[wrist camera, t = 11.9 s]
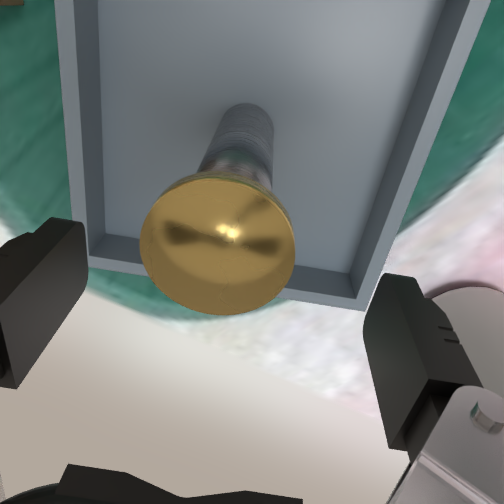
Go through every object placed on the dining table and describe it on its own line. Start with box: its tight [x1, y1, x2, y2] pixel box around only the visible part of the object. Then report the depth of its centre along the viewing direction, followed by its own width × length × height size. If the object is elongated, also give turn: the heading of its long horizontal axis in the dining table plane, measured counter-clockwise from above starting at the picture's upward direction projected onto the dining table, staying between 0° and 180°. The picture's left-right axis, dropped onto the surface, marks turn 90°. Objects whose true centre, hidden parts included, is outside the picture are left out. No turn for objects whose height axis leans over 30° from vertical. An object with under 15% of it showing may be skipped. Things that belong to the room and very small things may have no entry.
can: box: [432, 287, 504, 399], centre depth 24 cm, size 8×8×12 cm
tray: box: [54, 0, 491, 312], centre depth 21 cm, size 18×18×4 cm
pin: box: [139, 103, 295, 315], centre depth 17 cm, size 4×4×13 cm
